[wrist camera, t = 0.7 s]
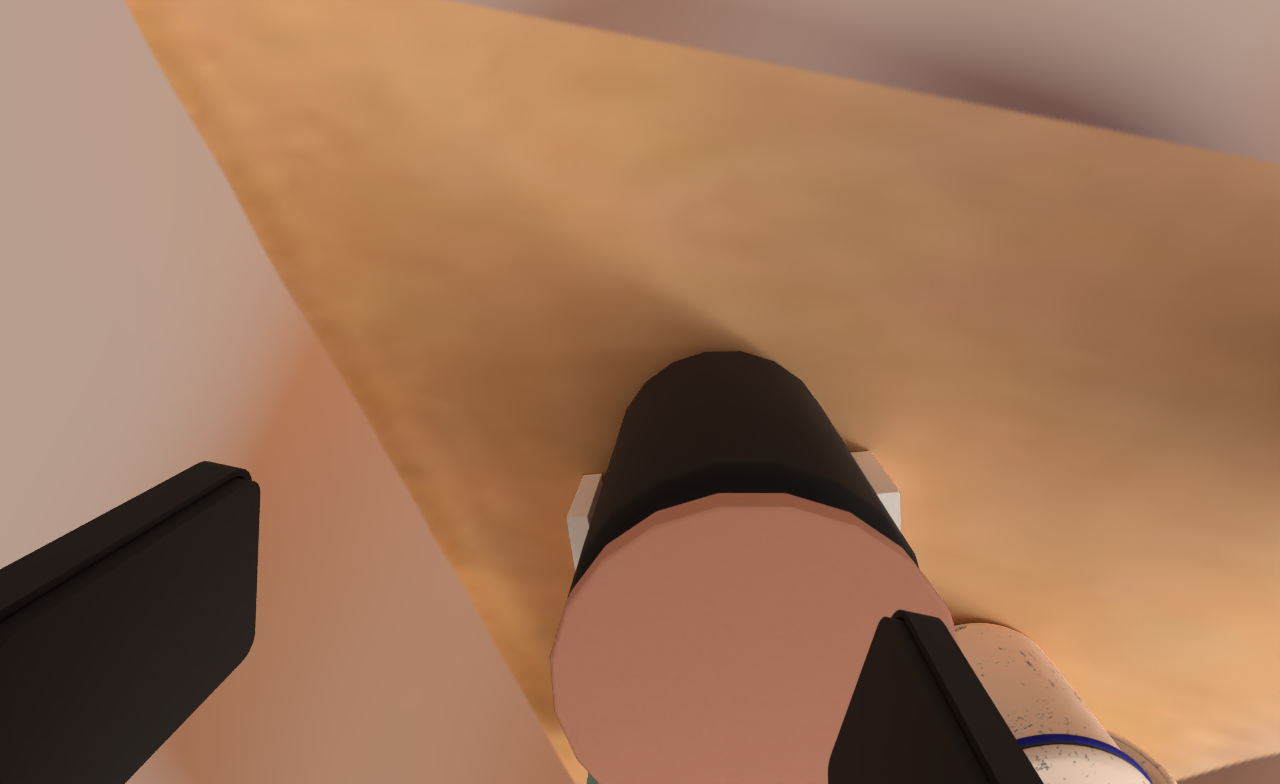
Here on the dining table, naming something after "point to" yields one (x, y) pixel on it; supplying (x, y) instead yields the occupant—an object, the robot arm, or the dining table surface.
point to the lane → (592, 484)
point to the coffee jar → (726, 585)
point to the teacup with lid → (1051, 713)
